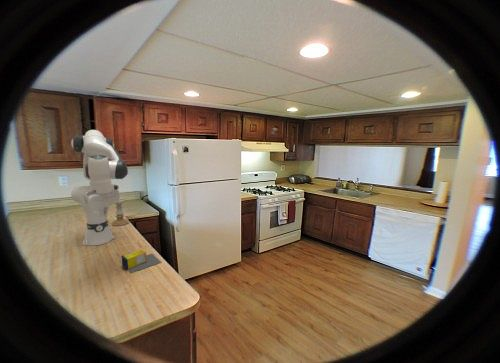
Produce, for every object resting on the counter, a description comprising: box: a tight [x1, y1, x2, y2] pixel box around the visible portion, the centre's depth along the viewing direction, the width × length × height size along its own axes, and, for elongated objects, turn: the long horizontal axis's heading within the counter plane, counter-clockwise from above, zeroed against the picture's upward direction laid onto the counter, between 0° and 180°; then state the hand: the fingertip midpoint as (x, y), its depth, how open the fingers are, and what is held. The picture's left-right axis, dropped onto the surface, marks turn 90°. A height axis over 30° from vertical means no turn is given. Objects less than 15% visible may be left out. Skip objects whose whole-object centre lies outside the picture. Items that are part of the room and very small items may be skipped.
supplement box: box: [120, 249, 147, 270], centre depth 124 cm, size 6×6×11 cm
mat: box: [127, 253, 162, 274], centre depth 126 cm, size 14×16×1 cm
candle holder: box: [111, 198, 129, 227], centre depth 187 cm, size 12×12×20 cm
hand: (103, 216), depth 111 cm, fingers closed
